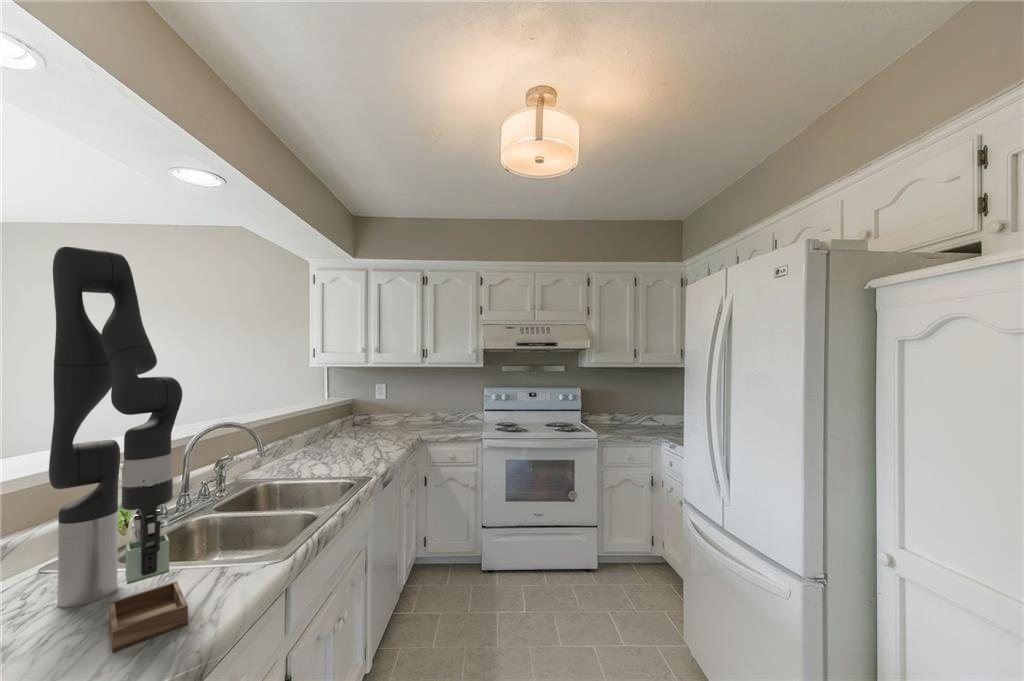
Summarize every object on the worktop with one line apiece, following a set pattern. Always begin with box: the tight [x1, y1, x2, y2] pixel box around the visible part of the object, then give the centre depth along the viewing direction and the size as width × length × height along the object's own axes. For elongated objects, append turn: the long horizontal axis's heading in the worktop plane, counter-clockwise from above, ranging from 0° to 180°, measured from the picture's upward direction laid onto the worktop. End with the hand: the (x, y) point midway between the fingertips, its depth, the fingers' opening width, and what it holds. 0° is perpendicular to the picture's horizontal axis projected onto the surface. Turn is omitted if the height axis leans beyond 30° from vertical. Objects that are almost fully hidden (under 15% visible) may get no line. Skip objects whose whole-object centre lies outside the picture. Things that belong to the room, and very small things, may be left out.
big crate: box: [108, 580, 189, 654], centre depth 81 cm, size 13×10×4 cm
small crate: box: [125, 533, 170, 585], centre depth 81 cm, size 5×6×6 cm
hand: (147, 568), depth 81 cm, fingers closed on small crate, 5 cm apart
